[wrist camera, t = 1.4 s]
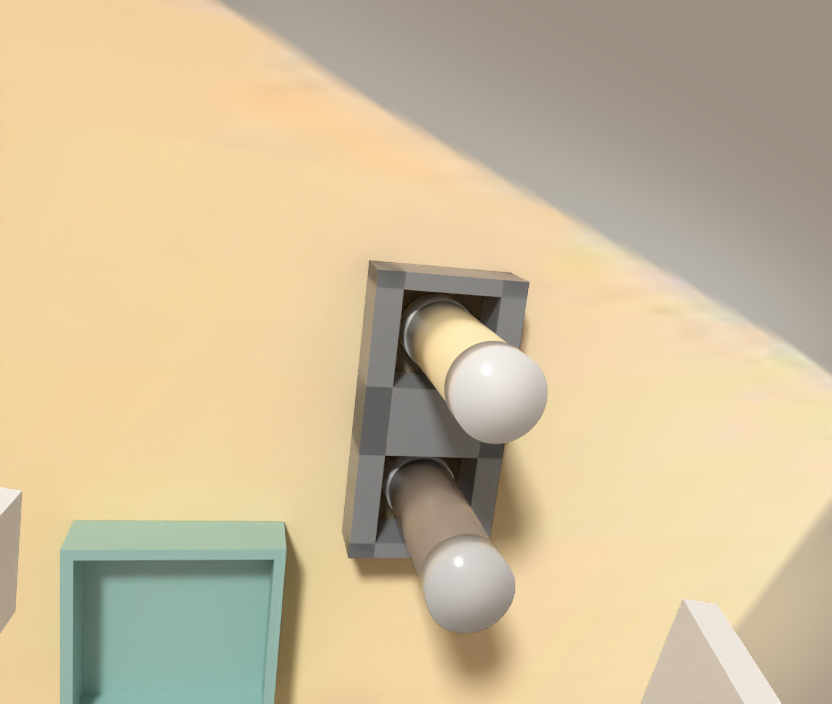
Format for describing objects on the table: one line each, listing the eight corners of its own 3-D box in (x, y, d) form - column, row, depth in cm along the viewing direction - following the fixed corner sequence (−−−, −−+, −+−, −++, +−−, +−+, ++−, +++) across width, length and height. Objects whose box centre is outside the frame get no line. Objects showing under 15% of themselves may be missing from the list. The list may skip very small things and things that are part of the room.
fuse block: (472, 532, 46) (486, 557, 43) (342, 531, 44) (348, 558, 41) (510, 272, 42) (529, 282, 39) (369, 260, 40) (378, 269, 37)
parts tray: (270, 688, 46) (272, 725, 43) (73, 697, 43) (60, 737, 40) (284, 521, 43) (286, 549, 40) (74, 520, 41) (60, 549, 38)
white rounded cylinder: (463, 365, 43) (539, 445, 32) (394, 361, 42) (447, 442, 31) (472, 296, 42) (554, 353, 31) (402, 290, 41) (460, 347, 30)
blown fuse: (443, 509, 45) (508, 631, 34) (378, 508, 44) (421, 634, 33) (452, 446, 44) (521, 552, 33) (385, 444, 43) (432, 552, 32)
